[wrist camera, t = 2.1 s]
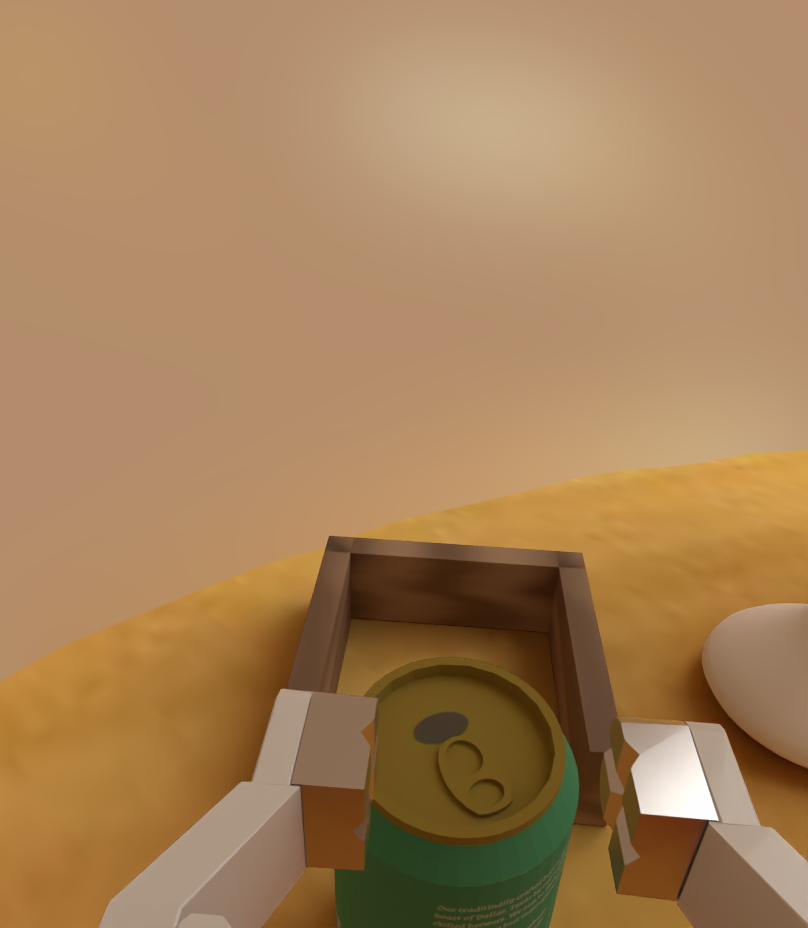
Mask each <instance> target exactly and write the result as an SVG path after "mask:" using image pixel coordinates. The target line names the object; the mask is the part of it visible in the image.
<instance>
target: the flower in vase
mask: <svg viewBox="0 0 808 928" xmlns="http://www.w3.org/2000/svg"><path fill="white" fill-rule="evenodd" d="M702 666H703V670H704V674H705V677H706V679H707V681H708V684H709V686H710V688H711V690H712V692H713V694H714V696H715V697H716V699H717V700H718V702H719V704H720V705H721V707H722V708H723V709H724V711H725V712H726V713H727V714H728V716H729V717H730V718H731V719H732V720H733V721H734V722H735V723H736V724H737V725H738V726H739V727H740V728H741V729H742V730H744V731H745V732H746V733H747V734H748V735H749V736H751V737H752V738H753V739H755V740H756V741H757V742H759V743H760V744H761V745H763V746H764V747H766V748H768V749H769V750H771V751H772V752H774V753H776V754H777V755H779V756H781V757H783V758H785V759H787V760H789V761H791V762H793V763H796V764H798V765H800V766H803V767H805V768H808V604H801V603H777V604H767V605H761V606H756V607H751V608H747V609H744V610H740V611H738V612H735V613H733V614H731V615H729V616H728V617H727V618H725V619H724V620H722V621H721V622H720V623H719V624H718V625H717V626H716V627H715V628H714V629H713V630H712V631H711V632H710V633H709V635H708V637H707V638H706V640H705V643H704V645H703V649H702Z"/></svg>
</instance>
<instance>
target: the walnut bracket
mask: <svg viewBox="0 0 808 928" xmlns="http://www.w3.org/2000/svg"><path fill="white" fill-rule="evenodd" d="M351 618H360V619H373V620H387V621H401V622H414V623H428V624H441V625H455V626H469V627H482V628H496V629H509V630H523V631H537V632H548V636H549V644H550V652H551V659H552V667H553V675H554V682H555V690H556V697H557V705H558V713H559V720H560V726H561V729H562V733H563V734H564V736H565V737H566V740H567V742H568V744H569V746H570V748H571V750H572V752H573V755H574V759H575V762H576V766H577V769H578V778H579V798H578V806H577V810H576V814H575V819H574V824H585V825H597V826H606V825H607V823H606V821H605V820H604V819H603V813H602V807H601V799H600V769H601V764H602V759H603V754H604V753H605V752H606V751H608V750H609V749H610V748H611V742H610V737H609V730H610V727H611V723H612V721H613V719H614V718H615V716H617V712H616V707H615V703H614V698H613V693H612V689H611V684H610V680H609V675H608V670H607V666H606V661H605V657H604V652H603V647H602V643H601V638H600V633H599V629H598V624H597V620H596V615H595V610H594V606H593V601H592V597H591V592H590V587H589V583H588V578H587V573H586V569H585V564H584V560H583V555H582V553H575V552H560V551H545V550H531V549H516V548H501V547H486V546H471V545H457V544H442V543H427V542H412V541H397V540H383V539H368V538H353V537H338V536H329V538H328V542H327V545H326V549H325V552H324V556H323V559H322V563H321V567H320V570H319V574H318V577H317V581H316V584H315V588H314V592H313V595H312V599H311V602H310V606H309V610H308V613H307V617H306V620H305V624H304V627H303V631H302V635H301V638H300V642H299V645H298V649H297V652H296V656H295V660H294V663H293V667H292V670H291V674H290V677H289V681H288V685H287V688H286V689H290V690H300V691H311V692H324V693H333V694H336V691H337V686H338V681H339V676H340V671H341V667H342V662H343V657H344V652H345V647H346V642H347V637H348V632H349V627H350V622H351Z"/></svg>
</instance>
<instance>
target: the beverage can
mask: <svg viewBox="0 0 808 928" xmlns="http://www.w3.org/2000/svg"><path fill="white" fill-rule="evenodd" d="M364 697H371V698H378V699H379V718H378V726H377V734H378V735H379V738H378V761H377V772H376V782H375V791H374V799H373V800H372V801H371V802H370V831H369V839H368V846H367V854H366V861H365V869H364V870H349V869H335V893H336V919H337V928H549V925H550V921H551V917H552V912H553V908H554V904H555V900H556V895H557V891H558V887H559V882H560V878H561V874H562V870H563V865H564V861H565V857H566V853H567V848H568V844H569V840H570V836H571V831H572V827H573V823H574V819H575V814H576V810H577V806H578V798H579V778H578V769H577V766H576V762H575V759H574V755H573V752H572V750H571V748H570V746H569V744H568V742H567V740H566V737H565V736H564V734H563V733H562V729H561V726H560V724H559V722H558V720H557V718H556V716H555V714H554V712H553V711H552V710H551V708H550V707H549V705H548V704H547V702H546V701H545V700H544V699H543V698H542V697H541V696H540V695H539V693H538V692H537V691H536V690H534V689H533V688H532V687H531V686H530V685H528V684H527V683H526V682H525V681H523V680H522V679H520V678H518V677H517V676H515V675H514V674H512V673H510V672H508V671H506V670H504V669H502V668H499V667H497V666H494V665H491V664H488V663H485V662H482V661H477V660H472V659H466V658H456V657H441V658H432V659H425V660H421V661H417V662H413V663H410V664H407V665H405V666H402V667H400V668H397V669H396V670H394V671H392V672H390V673H389V674H387V675H385V676H384V677H383V678H381V679H380V680H379V681H378V682H376V683H375V684H374V685H373V686H372V687H371V688H370V689H369V690H368V692H367V693H366V694H365V695H364Z"/></svg>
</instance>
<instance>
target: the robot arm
mask: <svg viewBox="0 0 808 928" xmlns="http://www.w3.org/2000/svg"><path fill="white" fill-rule="evenodd" d="M378 718H379V699H378V698H371V697H361V696H352V695H343V694H333V693H324V692H311V691H300V690H290V689H281V690H280V692H279V693H278V695H277V697H276V699H275V702H274V706H273V709H272V712H271V716H270V719H269V723H268V726H267V729H266V733H265V736H264V740H263V743H262V746H261V750H260V753H259V757H258V760H257V763H256V767H255V770H254V773H253V777H252V780H251V782H246V781H241V782H240V783H239V784H238V785H237V786H235V787H234V788H233V789H232V790H231V791H230V792H229V793H228V794H227V795H226V796H224V797H223V798H222V799H221V800H220V801H219V802H218V803H217V804H216V805H215V806H214V807H212V808H211V809H210V810H209V811H208V812H207V813H206V814H205V815H204V816H203V817H201V818H200V819H199V820H198V821H197V822H196V823H195V824H194V825H193V826H192V827H190V828H189V829H188V830H187V831H186V832H185V833H184V834H183V835H182V836H181V837H180V838H178V839H177V840H176V841H175V842H174V843H173V844H172V845H171V846H170V847H169V848H167V849H166V850H165V851H164V852H163V853H162V854H161V855H160V856H159V857H158V858H157V859H155V860H154V861H153V862H152V863H151V864H150V865H149V866H148V867H147V868H146V869H144V870H143V871H142V872H141V873H140V874H139V875H138V876H137V877H136V878H135V879H133V880H132V881H131V882H130V883H129V884H128V885H127V886H126V887H125V888H124V889H123V890H121V891H120V892H119V893H118V894H117V895H116V896H115V897H114V898H113V899H112V900H110V901H109V904H108V906H107V908H106V911H105V913H104V916H103V918H102V920H101V923H100V925H99V927H98V928H262V927H263V925H264V924H265V923H266V922H267V920H268V919H269V918H270V916H271V915H272V914H273V913H274V911H275V910H276V909H277V907H278V906H279V905H280V904H281V902H282V901H283V900H284V898H285V897H286V896H287V895H288V893H289V892H290V891H291V889H292V888H293V887H294V886H295V884H296V883H297V882H298V880H299V879H300V878H301V877H302V875H303V874H304V873H305V871H306V867H317V868H333V869H349V870H364V869H365V861H366V854H367V846H368V839H369V831H370V802H371V801H372V800H373V799H374V791H375V782H376V772H377V761H378V738H379V735H378V734H377V726H378ZM609 737H610V742H611V748H610V749H609V750H608V751H606V752H605V753H604V754H603V759H602V764H601V769H600V799H601V807H602V813H603V819H604V820H605V821H606V823H607V824H608V825H609V826H610V827H611V828H612V830H613V833H612V837H611V840H610V844H609V848H608V849H609V854H610V860H611V866H612V871H613V877H614V882H615V888H616V893H617V894H622V895H631V896H639V897H647V898H656V899H664V900H672V901H678V904H677V905H678V906H679V907H680V909H681V910H682V912H683V913H684V914H685V916H686V917H687V919H688V920H689V921H690V923H691V924H692V925H693V927H694V928H808V861H807V860H806V859H805V858H804V857H802V856H801V855H800V854H799V853H798V852H797V851H796V850H795V849H794V848H793V847H792V846H791V845H790V844H789V843H788V842H787V841H786V840H785V839H784V838H783V837H782V836H781V835H780V834H778V833H777V832H776V831H775V830H774V829H773V828H772V827H766V826H761V825H760V822H759V819H758V817H757V814H756V811H755V809H754V806H753V803H752V801H751V798H750V795H749V793H748V790H747V787H746V785H745V782H744V779H743V777H742V774H741V771H740V769H739V766H738V763H737V761H736V758H735V755H734V753H733V750H732V748H731V745H730V742H729V740H728V737H727V734H726V732H725V730H724V728H723V727H722V726H721V725H720V724H714V723H701V722H688V721H684V722H682V721H681V720H666V719H651V718H636V717H621V716H615V718H614V719H613V721H612V723H611V727H610V730H609Z"/></svg>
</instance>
